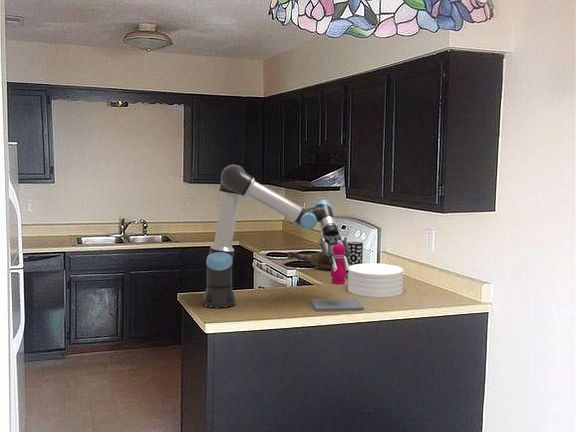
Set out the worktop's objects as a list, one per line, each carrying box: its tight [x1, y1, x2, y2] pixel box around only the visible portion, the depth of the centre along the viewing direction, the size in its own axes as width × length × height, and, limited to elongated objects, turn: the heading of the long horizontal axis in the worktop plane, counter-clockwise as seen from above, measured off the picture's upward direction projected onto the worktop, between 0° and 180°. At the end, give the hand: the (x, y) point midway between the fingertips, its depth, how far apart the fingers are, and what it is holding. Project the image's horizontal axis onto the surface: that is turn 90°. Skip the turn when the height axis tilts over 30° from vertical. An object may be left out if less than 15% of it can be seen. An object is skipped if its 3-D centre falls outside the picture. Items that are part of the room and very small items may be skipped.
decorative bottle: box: [286, 251, 347, 273], centre depth 366 cm, size 11×11×45 cm
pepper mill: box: [330, 240, 347, 286], centre depth 280 cm, size 7×7×20 cm
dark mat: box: [310, 298, 365, 312], centre depth 282 cm, size 22×16×1 cm
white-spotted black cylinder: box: [346, 241, 364, 279], centre depth 339 cm, size 8×8×20 cm
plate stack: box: [347, 262, 404, 298], centre depth 313 cm, size 28×28×12 cm
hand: (341, 269), depth 276 cm, fingers closed on pepper mill, 5 cm apart
